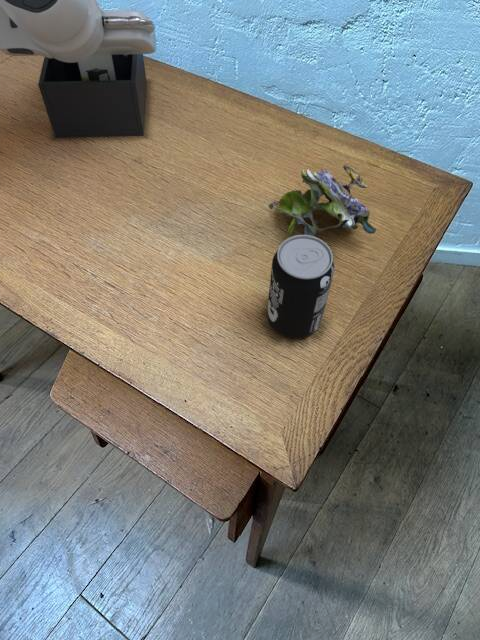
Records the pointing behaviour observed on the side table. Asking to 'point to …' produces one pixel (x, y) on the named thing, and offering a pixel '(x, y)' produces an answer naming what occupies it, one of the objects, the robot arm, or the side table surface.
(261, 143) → the side table surface
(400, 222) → the side table surface
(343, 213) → the passion flower
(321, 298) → the beverage can
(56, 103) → the open storage bin
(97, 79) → the ink box
